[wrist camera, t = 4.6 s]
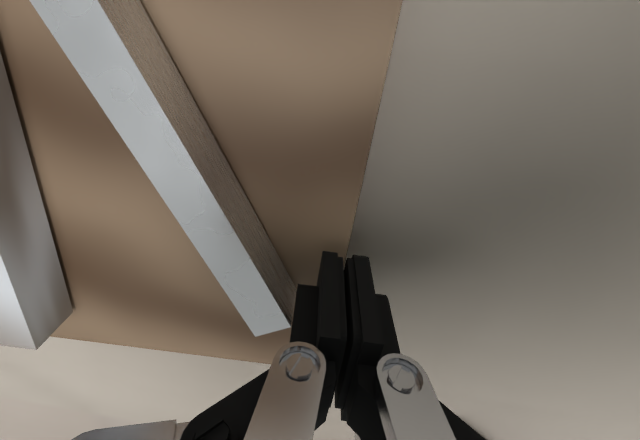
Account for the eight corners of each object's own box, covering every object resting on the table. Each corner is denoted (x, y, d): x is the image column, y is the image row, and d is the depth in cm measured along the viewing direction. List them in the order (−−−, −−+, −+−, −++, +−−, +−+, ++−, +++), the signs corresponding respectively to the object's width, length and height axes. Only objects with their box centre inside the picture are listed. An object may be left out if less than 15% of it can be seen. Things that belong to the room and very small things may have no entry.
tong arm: (-182, -320, 6) (-434, -500, 4) (-87, -417, 6) (-323, -677, 4) (237, 306, 14) (220, 354, 12) (296, 289, 13) (289, 335, 11)
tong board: (-239, -555, 6) (-948, -1301, 3) (478, -397, 7) (629, -856, 3) (46, 309, 17) (-30, 379, 13) (321, 345, 17) (319, 420, 14)
